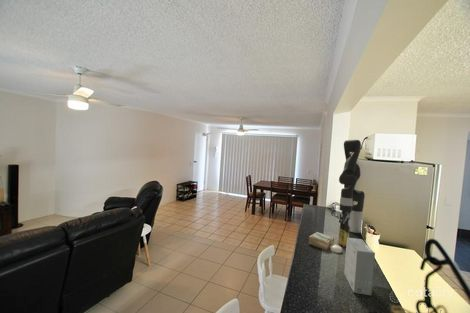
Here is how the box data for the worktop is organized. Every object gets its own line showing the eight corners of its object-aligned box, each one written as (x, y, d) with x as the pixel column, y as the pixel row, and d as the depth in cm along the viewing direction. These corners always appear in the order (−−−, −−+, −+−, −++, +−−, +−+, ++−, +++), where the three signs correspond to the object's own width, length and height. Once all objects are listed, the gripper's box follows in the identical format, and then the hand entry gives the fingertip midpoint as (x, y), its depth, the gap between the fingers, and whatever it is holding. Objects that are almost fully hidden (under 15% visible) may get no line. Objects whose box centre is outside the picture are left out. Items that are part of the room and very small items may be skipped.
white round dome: (332, 246, 142) (332, 243, 142) (343, 250, 137) (343, 247, 137) (328, 250, 138) (328, 246, 137) (339, 254, 133) (339, 250, 132)
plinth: (316, 238, 154) (316, 231, 153) (333, 244, 145) (334, 236, 145) (308, 243, 145) (309, 235, 145) (326, 250, 137) (326, 242, 137)
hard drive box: (372, 296, 95) (375, 253, 94) (353, 293, 97) (356, 251, 96) (359, 275, 110) (362, 238, 109) (343, 273, 112) (346, 236, 111)
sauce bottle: (336, 243, 148) (338, 215, 146) (344, 243, 148) (346, 215, 147) (341, 247, 141) (343, 218, 140) (350, 247, 142) (352, 218, 140)
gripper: (343, 201, 151) (342, 223, 151) (336, 204, 141) (334, 228, 142) (355, 203, 145) (353, 226, 146) (348, 206, 135) (346, 231, 136)
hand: (344, 227), depth 144 cm, fingers open, 8 cm apart
